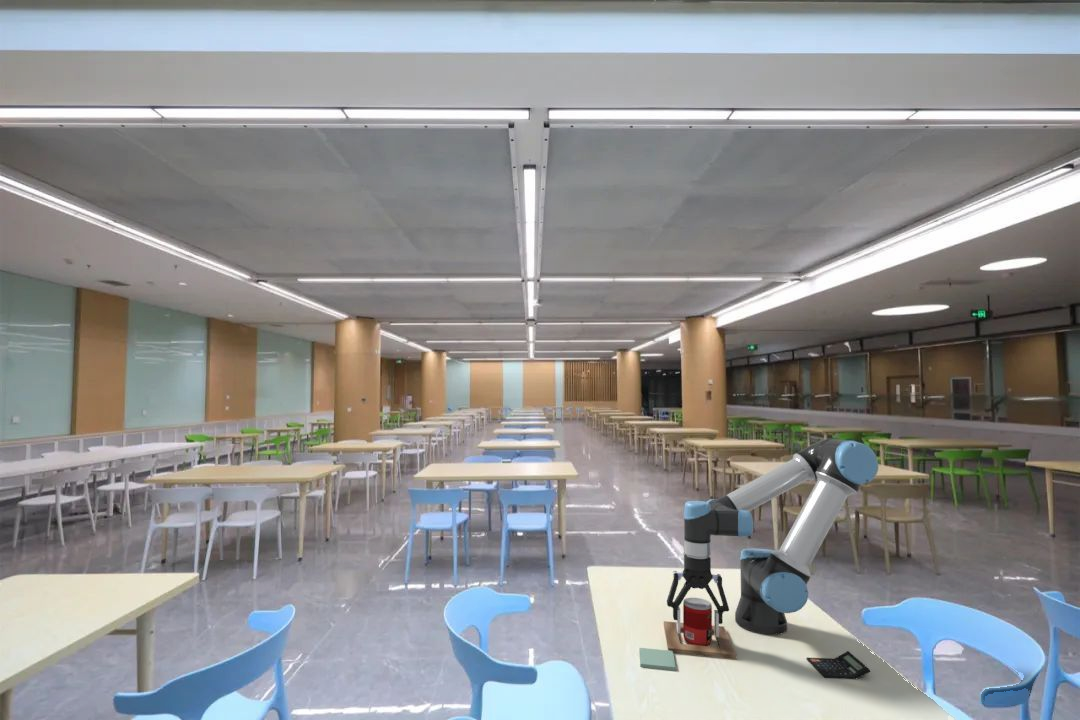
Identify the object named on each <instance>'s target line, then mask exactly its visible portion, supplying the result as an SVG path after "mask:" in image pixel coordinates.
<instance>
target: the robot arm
mask: <svg viewBox="0 0 1080 720" xmlns="http://www.w3.org/2000/svg"><path fill="white" fill-rule="evenodd" d="M878 471H879V460H878V459H877V455H876V454H875V452H874V450H873V449H872V448H871V447H869V446H868V445H867V444H865V443H861V442H858V441H856V440H851V439H849V440H845V439H841V438H840V439H839V438H824V439H821V440H819V441H817V442H815V443H813V444H811V445H808V446H807V447H805V448H803V449H802V450H799V451H798V452H796V453H794V454H793V456H792V458H791V459H790V460H788V461H786V462H784V463H783V464H781V465H779V466H777V467H775V468H774V469H772V470H770V471H768V472H766V473H764V474H763V475H761V476H759V477H757V478H755V479H753V480H751V481H750V482H748V483H745V484H744V485H743V486H740V487H739V488H737V489H735V490H733V491H731V492H730V493H728V494H726V495H724V496H722V497H720V498H713V499H712V498H711V499H709V500H707V501H702V500H689V501H686V502H685V504H684V510H683V512H684V513H683V524H684V525H683V526H684V527H683V529H684V530H683V533H684V534H683V535H684V541H683V543H684V545H683V548H684V549H683V550H684V551H683V552H684V553H685V554H684V556H683V562H684V563H683V565H684V566H683V570H682V571H677V570H674V571H673V572H672V574H673V576H672V577H673V579H672V583H671V586H670V589H669V591H668V595H667V599H666V605H667V606H668V607H669V608H672V618H673V620H674V621H676V622H677V632H678V634H681V631H680V623H681V608H680V605H681V604H682V602H684V599H685V597H686V595H687V594H688V593H689V591H690V590H691V589H700V590H703V589H705V591H706V593H707V594H708V596H709V597H710V599H711V601H712V603H713V604H714V606H715V608H716V609H714V615H713V616H714V625H713V626H715V635H716V637H719V626H720V625H722V624H723V614H724V613H725V612H729V611H730V607H729V605H728V601H727V597H726V595H725V590H724V588H723V577H722V576H721V574H719V573H717V574H712V571H711V570H712V569H711V568H712V567H711V566H712V565H711V564H712V563H711V561H712V560H711V559H712V558H711V557H710V556H711V554H712V553H711V551H712V550H711V546H712V545H711V543H712V542H711V541H712V539H711V538H712V537H711V536H721V537H724V536H725V537H738V538H740V537H750V536H751V535H752V534H753V531H754V519H753V515H752V513H751V512H750V511H752V510H754V509H756V508H758V507H760V506H762V505H764V504H765V503H767V502H769V501H771V500H773V499H774V498H776V497H778V496H780V495H782V494H784V493H787V492H788V491H790V490H792V489H794V488H795V487H797V486H799V485H802V484H803V483H804V482H806V481H811V482H814V481H815V480H817V481H816V483H815V484H814V486H813V488H812V490H811V491H810V493H809V496H808V497H807V499H806V500H805V503H804V504H803V506H802V508H801V510H800V512H799V514H798V515H797V517H796V519H795V521H794V522H793V525H792V526H791V528H790V530H789V532H788V533H787V535H786V537H785V539H784V540H783V542H782V544H781V546H780V548H779V549H778V550H773V549H767V548H755V547H754V548H750V547H749V548H743V549H742V550H741V551H740V558H739V563H740V566H739V567H740V597H739V601H738V604H737V605H736V609H735V611H734V613H735V614H734V617H735V618H734V620H735V623H736V624H737V625H738V626H739V627H741V628H743V629H744V630H746V631H747V630H748V631H750V632H752V633H756V634H762V635H767V636H768V635H773V636H776V635H778V636H779V635H782V634H784V633H786V632H788V622H787V621H788V620H787V618H786V615H785V614H791V613H796V612H798V611H800V610H801V609H803V608H804V606H805V605H806V604H807V602H808V599H809V591H808V586H807V585H808V582H809V581H810V579H811V577H812V575H811V572H810V569H809V568H810V566H811V565H812V563H813V560H814V558H816V555H817V553H818V551H819V550H820V547H821V546H822V544H823V543H824V540H825V538H826V536H827V535H828V533H829V531H830V529H831V528H832V526H833V524H834V523H835V520H836V518H837V517H838V515H839V513H840V511H841V510H842V507H843V506H844V505H845V502H846V500H847V498H848V497H849V496H852V495H857V494H858V491H859V490H860V488H861V487H862V485H864V484H867V483H870V482H871V481H873V480H874V479H875V477H876V476H877V474H878ZM682 578H683V579H684V581H685V582H684V584H683V586H682V588H681V589H680V591H679V593H678V594H677V596H676V598H675V595H676V591H677V589H678V585H679V581H681V579H682ZM712 580H713V581H714V583H715V584H716V587H717V589H718V593H719V597H720V600H721V603H722V605H720V603H719V601H718V599H717V598H716V596H715V594H714V592H713V590H712V589H711V587H710V585H709V584H710V583H711V581H712ZM674 599H675V600H674Z"/></svg>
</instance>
